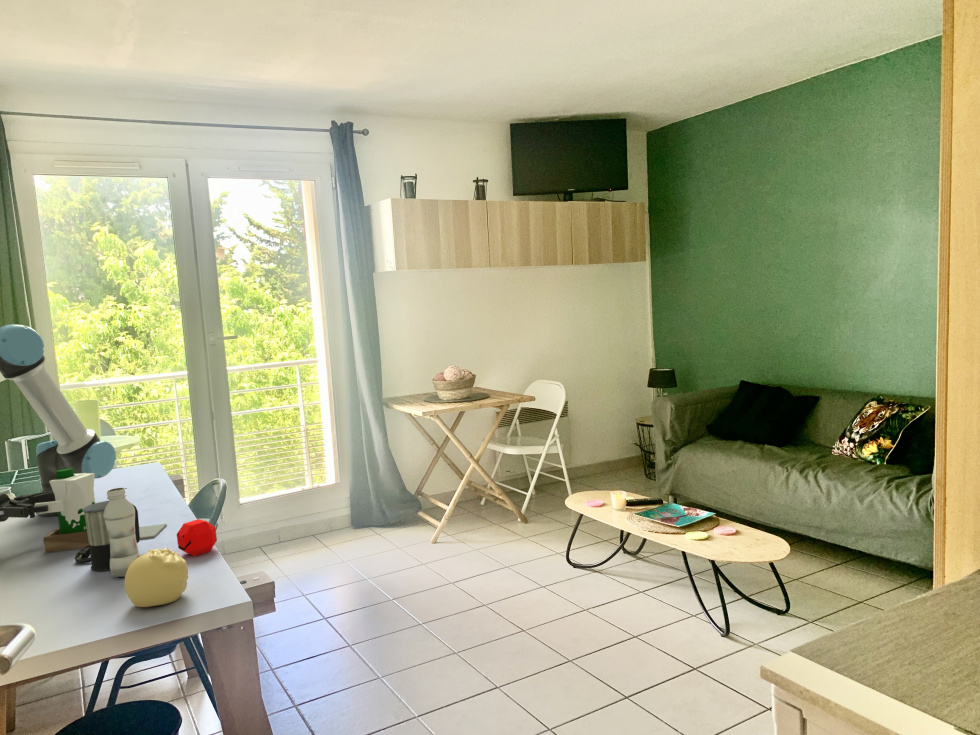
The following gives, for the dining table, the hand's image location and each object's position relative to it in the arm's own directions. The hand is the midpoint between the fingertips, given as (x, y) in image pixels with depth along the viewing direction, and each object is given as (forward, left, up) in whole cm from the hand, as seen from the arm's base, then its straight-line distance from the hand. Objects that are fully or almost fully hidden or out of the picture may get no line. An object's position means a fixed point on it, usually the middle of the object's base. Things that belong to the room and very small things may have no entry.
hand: (74, 498), depth 197 cm
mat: (0, +15, -12) cm, 19 cm away
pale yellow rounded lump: (+54, +36, -12) cm, 66 cm away
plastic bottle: (+34, +23, -12) cm, 43 cm away
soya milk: (0, 0, -12) cm, 12 cm away
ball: (+23, +37, -12) cm, 45 cm away
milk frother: (+21, +14, -12) cm, 28 cm away
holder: (0, 0, -12) cm, 12 cm away
